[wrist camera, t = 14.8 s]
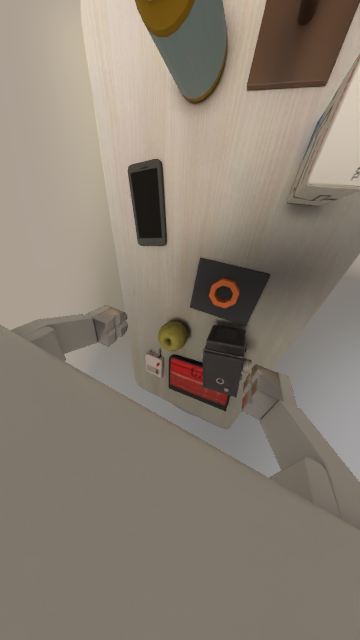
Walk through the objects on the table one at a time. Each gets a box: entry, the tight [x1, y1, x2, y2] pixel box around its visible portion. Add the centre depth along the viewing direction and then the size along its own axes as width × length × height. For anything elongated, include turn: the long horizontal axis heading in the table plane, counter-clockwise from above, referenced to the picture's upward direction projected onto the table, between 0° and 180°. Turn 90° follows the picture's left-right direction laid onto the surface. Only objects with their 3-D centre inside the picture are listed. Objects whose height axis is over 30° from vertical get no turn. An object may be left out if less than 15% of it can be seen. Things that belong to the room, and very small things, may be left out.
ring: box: [209, 278, 240, 308], centre depth 32 cm, size 6×6×2 cm
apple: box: [158, 321, 187, 351], centre depth 41 cm, size 8×8×7 cm
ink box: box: [287, 54, 360, 206], centre depth 16 cm, size 9×5×12 cm, turn 173°
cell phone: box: [128, 159, 166, 246], centre depth 31 cm, size 7×14×1 cm, turn 2°
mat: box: [190, 258, 270, 326], centre depth 34 cm, size 14×12×1 cm
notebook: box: [169, 355, 230, 411], centre depth 50 cm, size 16×2×21 cm
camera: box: [201, 325, 252, 397], centre depth 35 cm, size 11×11×15 cm
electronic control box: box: [145, 350, 164, 378], centre depth 54 cm, size 7×16×3 cm, turn 175°
